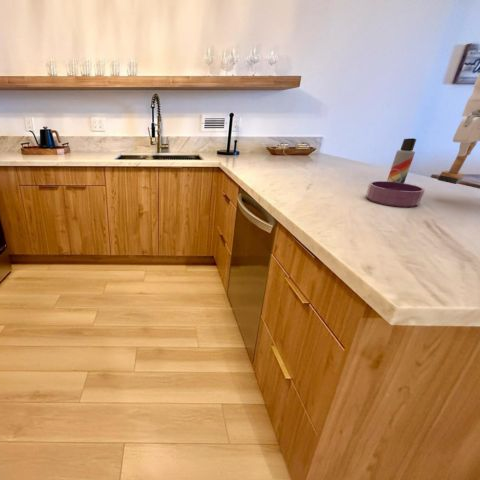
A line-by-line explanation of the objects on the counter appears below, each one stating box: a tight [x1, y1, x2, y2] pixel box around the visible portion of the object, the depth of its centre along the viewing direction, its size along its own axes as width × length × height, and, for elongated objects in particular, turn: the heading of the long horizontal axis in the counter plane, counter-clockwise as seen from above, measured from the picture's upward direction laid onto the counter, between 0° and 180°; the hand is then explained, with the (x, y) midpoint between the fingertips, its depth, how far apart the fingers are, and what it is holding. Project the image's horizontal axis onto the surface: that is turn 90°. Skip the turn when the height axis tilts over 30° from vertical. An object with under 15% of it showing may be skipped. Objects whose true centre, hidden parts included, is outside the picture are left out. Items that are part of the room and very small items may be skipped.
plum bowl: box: [365, 180, 425, 208], centre depth 102 cm, size 15×15×6 cm
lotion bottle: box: [386, 137, 417, 183], centre depth 115 cm, size 6×6×20 cm
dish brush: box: [437, 143, 474, 185], centre depth 98 cm, size 5×4×13 cm
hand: (463, 155), depth 96 cm, fingers closed on dish brush, 2 cm apart
